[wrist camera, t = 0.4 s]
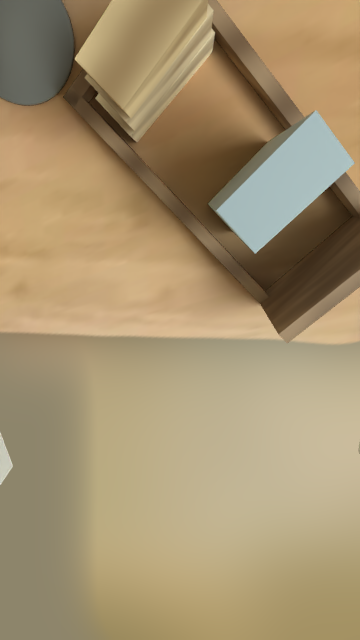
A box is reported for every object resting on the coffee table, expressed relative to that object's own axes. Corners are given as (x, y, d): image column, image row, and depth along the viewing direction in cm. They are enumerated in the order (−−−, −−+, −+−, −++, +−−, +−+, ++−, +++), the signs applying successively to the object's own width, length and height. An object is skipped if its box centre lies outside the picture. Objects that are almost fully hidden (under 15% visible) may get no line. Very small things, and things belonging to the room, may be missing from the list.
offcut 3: (106, 109, 31) (95, 98, 27) (180, 13, 28) (178, -15, 24) (137, 142, 32) (130, 136, 28) (212, 53, 29) (215, 32, 25)
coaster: (-58, 40, 29) (-62, 39, 28) (2, -70, 26) (-1, -74, 26) (32, 130, 31) (30, 129, 31) (97, 38, 28) (95, 36, 28)
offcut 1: (88, 74, 23) (74, 58, 20) (162, -37, 21) (158, -72, 18) (131, 118, 24) (123, 109, 21) (206, 17, 22) (208, -9, 19)
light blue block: (207, 203, 33) (216, 210, 21) (268, 141, 31) (316, 110, 19) (233, 231, 34) (255, 253, 22) (293, 173, 32) (354, 163, 20)
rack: (71, 102, 30) (17, 63, 21) (174, -41, 26) (164, -167, 17) (263, 305, 37) (287, 343, 28) (369, 216, 33) (437, 226, 24)
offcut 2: (99, 93, 27) (84, 77, 23) (173, -9, 24) (170, -46, 20) (135, 131, 28) (126, 122, 24) (210, 37, 25) (213, 10, 21)
